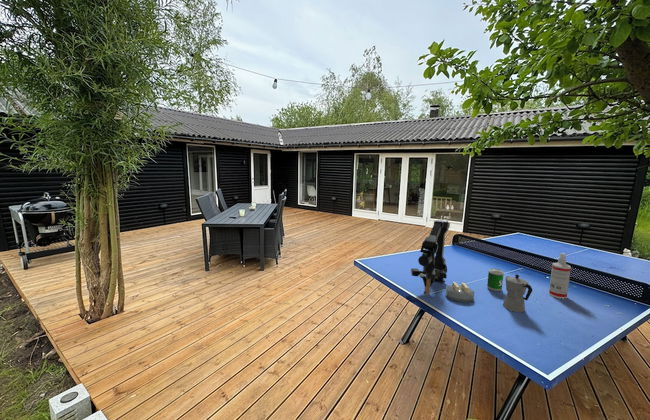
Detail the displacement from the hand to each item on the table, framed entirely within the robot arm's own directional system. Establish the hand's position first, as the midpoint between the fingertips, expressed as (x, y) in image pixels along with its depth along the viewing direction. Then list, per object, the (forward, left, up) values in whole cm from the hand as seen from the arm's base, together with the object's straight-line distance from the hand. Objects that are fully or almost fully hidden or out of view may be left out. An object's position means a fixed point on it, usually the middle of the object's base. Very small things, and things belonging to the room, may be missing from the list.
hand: (427, 287), depth 150 cm
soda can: (-13, +41, -3) cm, 43 cm away
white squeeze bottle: (-11, +73, -3) cm, 74 cm away
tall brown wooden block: (0, 0, -3) cm, 3 cm away
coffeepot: (+11, +41, -3) cm, 43 cm away
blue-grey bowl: (+2, +17, -3) cm, 17 cm away
